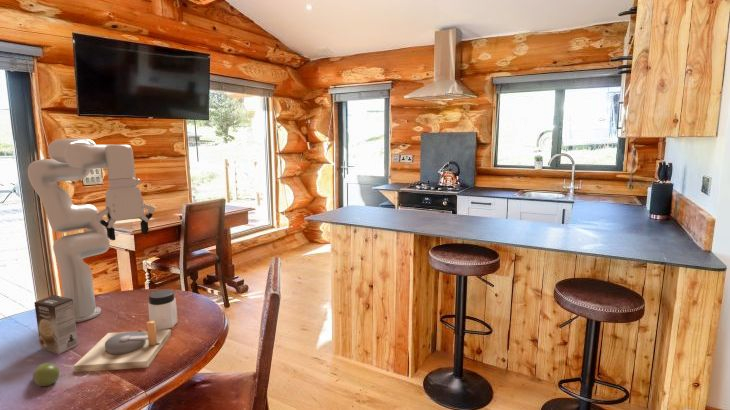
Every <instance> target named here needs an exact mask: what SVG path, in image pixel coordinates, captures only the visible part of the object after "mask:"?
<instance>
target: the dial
mask: <svg viewBox="0 0 730 410" xmlns="http://www.w3.org/2000/svg"><path fill="white" fill-rule="evenodd" d="M146 331H147V332H148V335H145V334H144V333H143V332H139V331H138V330H137V331H136V330H134V331H133V330H132V331H124V332H125V333H121V334H118V335H115V336H113V337H111V338H110V339H108V340H107V341H106V342H105V350H106V352H107V353H108V354H112V355H119V354H126V353H130V352H133V351H135V350H137V349H139V348H141V347H142V346H144V345H145V343H146V340H148V343H149V345H155V344H157V336H156V325H155V321H150V320H148V321H147V322H146Z"/></svg>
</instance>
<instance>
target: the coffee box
mask: <svg viewBox="0 0 730 410" xmlns="http://www.w3.org/2000/svg"><path fill="white" fill-rule="evenodd" d="M34 310H35V318H36V325H37V330H38V331H37V332H38V337H39V339H38V340H39V345H40V346H39V347H40V349H41V350H44V351H48V352H52V353H55V354H58V355H60V354H62V353H64V352H66V351H69V350H70V349H72V348H74V347H76V346H78V345H79V343H78V342H79V341H78V333H77V326H76V324H77V323H76V322H75V315H74V306H73V299H70V298H66V297H63V296H60V295H56V294H53V295H50V296H48V297H45V298H42V299H40V300H37V301H34Z"/></svg>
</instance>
